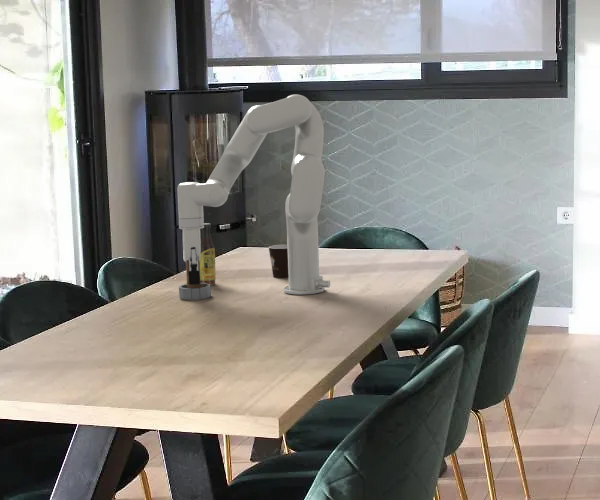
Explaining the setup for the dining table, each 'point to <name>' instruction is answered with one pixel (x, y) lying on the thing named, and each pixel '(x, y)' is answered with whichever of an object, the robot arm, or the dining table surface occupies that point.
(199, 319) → the dining table surface
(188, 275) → the brown cylinder
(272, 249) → the coffee mug
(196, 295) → the grey faceted dish
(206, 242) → the sauce bottle
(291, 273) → the robot arm
